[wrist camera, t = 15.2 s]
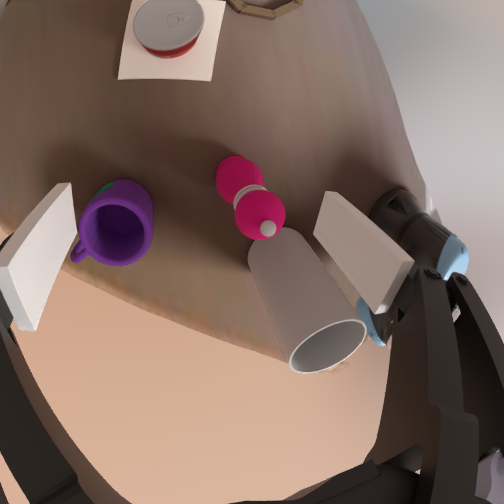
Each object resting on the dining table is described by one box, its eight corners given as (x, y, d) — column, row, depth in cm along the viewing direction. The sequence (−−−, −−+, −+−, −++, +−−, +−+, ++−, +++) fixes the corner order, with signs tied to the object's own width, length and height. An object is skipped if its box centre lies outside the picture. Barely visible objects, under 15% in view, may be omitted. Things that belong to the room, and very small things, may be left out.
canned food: (205, 46, 31) (214, 33, 22) (154, 68, 31) (146, 62, 22) (187, 7, 26) (191, -17, 18) (136, 28, 27) (122, 10, 18)
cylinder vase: (310, 225, 55) (379, 312, 35) (297, 274, 62) (348, 363, 42) (250, 225, 52) (301, 327, 32) (243, 278, 59) (280, 379, 39)
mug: (130, 160, 39) (119, 180, 31) (168, 212, 46) (168, 242, 38) (60, 218, 40) (41, 248, 33) (98, 260, 47) (88, 295, 39)
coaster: (224, 3, 28) (226, 1, 27) (210, 81, 35) (210, 81, 35) (133, -1, 24) (132, -2, 23) (119, 79, 31) (117, 79, 30)
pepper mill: (210, 155, 42) (234, 207, 27) (254, 150, 44) (303, 196, 28) (215, 196, 47) (240, 266, 31) (256, 189, 48) (300, 253, 32)
